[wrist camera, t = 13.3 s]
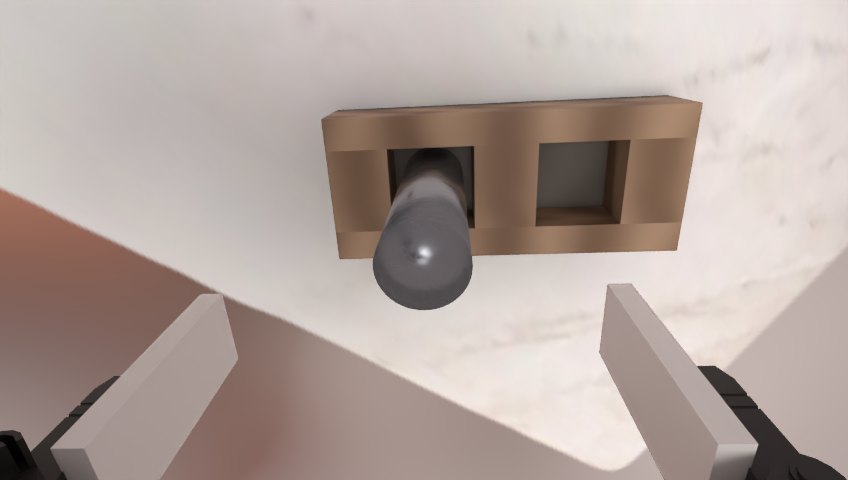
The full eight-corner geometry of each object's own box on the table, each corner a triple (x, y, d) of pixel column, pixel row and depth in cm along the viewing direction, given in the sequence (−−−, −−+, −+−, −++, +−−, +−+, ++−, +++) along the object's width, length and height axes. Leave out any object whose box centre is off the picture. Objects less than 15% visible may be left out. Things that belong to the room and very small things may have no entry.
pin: (407, 203, 36) (377, 311, 21) (403, 147, 34) (368, 221, 20) (463, 201, 36) (473, 309, 21) (462, 144, 34) (471, 218, 19)
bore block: (352, 233, 38) (339, 259, 34) (338, 110, 34) (321, 119, 30) (647, 225, 37) (676, 250, 32) (666, 95, 33) (702, 102, 28)
